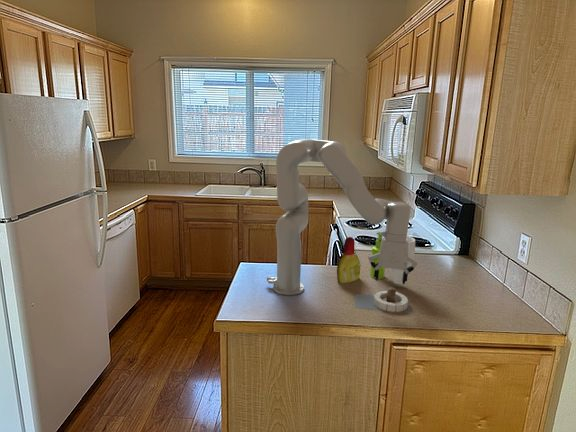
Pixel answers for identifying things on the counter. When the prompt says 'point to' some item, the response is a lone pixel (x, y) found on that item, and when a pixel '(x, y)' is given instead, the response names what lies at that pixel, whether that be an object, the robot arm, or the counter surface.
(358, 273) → the bottle
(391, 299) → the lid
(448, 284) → the counter surface
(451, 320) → the counter surface
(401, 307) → the ring
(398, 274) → the cup
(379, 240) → the soap dispenser
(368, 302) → the board
